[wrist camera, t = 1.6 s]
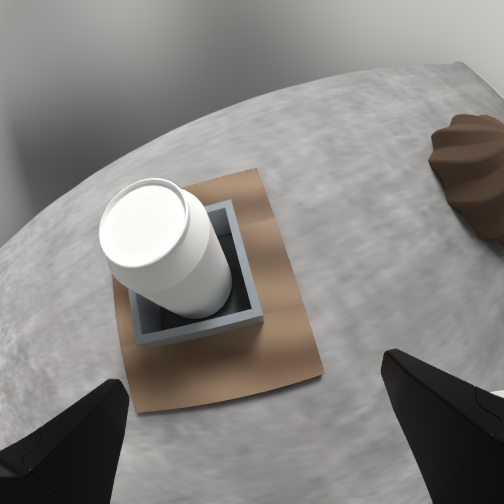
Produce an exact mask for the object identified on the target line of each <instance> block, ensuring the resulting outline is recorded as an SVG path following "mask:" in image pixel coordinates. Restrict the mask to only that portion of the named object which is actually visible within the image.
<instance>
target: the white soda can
mask: <svg viewBox="0 0 504 504" xmlns="http://www.w3.org/2000/svg"><path fill="white" fill-rule="evenodd" d="M99 241H100V245H101V248H102V250H103V252H104V254H105V255H106V260H107V263H108V266H109V268H110V270H111V272H112V274H113V275H114V277H115V278H116V279H117V280H118V281H119V282H120V283H121V284H123V285H124V286H126V287H127V288H129V289H131V290H133V291H134V292H136V293H138V294H140V295H141V296H143V297H145V298H147V299H149V300H151V301H152V302H154V303H156V304H158V305H160V306H162V307H164V308H166V309H168V310H170V311H172V312H174V313H176V314H178V315H180V316H182V317H185V318H190V319H200V318H205V317H208V316H210V315H212V314H214V313H216V312H217V311H218V310H219V309H221V308H222V307H223V305H224V304H225V303H226V301H227V300H228V298H229V295H230V292H231V288H232V275H231V271H230V268H229V265H228V263H227V260H226V258H225V255H224V253H223V251H222V248H221V246H220V243H219V241H218V239H217V236H216V234H215V231H214V229H213V227H212V224H211V222H210V219H209V217H208V214H207V212H206V210H205V208H204V206H203V205H202V203H201V202H200V201H199V200H198V199H197V198H196V197H195V196H194V195H192V194H191V193H189V192H187V191H185V190H183V189H180V188H179V187H178V186H176V185H175V184H174V183H172V182H170V181H167V180H164V179H158V178H151V179H145V180H141V181H138V182H135V183H133V184H131V185H129V186H128V187H126V188H125V189H123V190H122V191H121V192H119V193H118V194H117V195H116V196H115V197H114V198H113V199H112V201H111V202H110V203H109V205H108V206H107V208H106V210H105V212H104V214H103V216H102V219H101V222H100V227H99Z"/></svg>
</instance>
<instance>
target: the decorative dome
mask: <svg viewBox="0 0 504 504" xmlns="http://www.w3.org/2000/svg"><path fill="white" fill-rule="evenodd" d="M431 138H432V142H433V146H434V152H433V153H432V155H431V156H430V158H429V160H428V162H429V164H430V165H431V167H432V168H433V170H434V171H435V172H436V174H437V175H438V176H439V178H440V179H441V181H442V183H443V187H444V191H445V195H446V199H447V202H448V204H449V205H450V206H451V207H453V208H454V209H455V210H457V211H458V212H460V213H461V214H462V215H464V216H465V217H466V218H467V219H468V220H469V222H470V223H471V225H472V226H473V228H474V229H475V231H476V233H477V234H478V236H479V237H480V238H481V239H482V240H492V239H496V240H498V241H499V242H501V243H502V244H503V245H504V124H503V123H502V122H501V121H499V120H497V119H496V118H494V117H491V116H488V115H480V116H475V115H467V114H459V115H455V116H454V117H453V118H452V121H451V123H450V126H449V127H447V128H444V129H440V130H437V131H435V132H434V133H433V134H432V136H431Z"/></svg>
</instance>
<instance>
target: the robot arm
mask: <svg viewBox="0 0 504 504" xmlns="http://www.w3.org/2000/svg"><path fill="white" fill-rule="evenodd" d="M381 375H382V378H383V381H384V384H385V387H386V389H387V392H388V395H389V398H390V401H391V404H392V407H393V410H394V412H395V415H396V417H397V419H398V421H399V423H400V425H401V428H402V430H403V432H404V434H405V436H406V439H407V441H408V443H409V445H410V448H411V450H412V452H413V455H414V457H415V459H416V462H417V464H418V466H419V469H420V471H421V474H422V476H423V479H424V481H425V484H426V486H427V489H428V491H429V494H430V497H431V499H432V500H433V501H432V502H433V504H504V398H503V397H500V396H497V395H495V394H492V393H490V392H487V391H485V390H483V389H481V388H478V387H476V386H475V387H474V385H472V384H470V383H467V382H465V381H463V380H461V379H459V378H457V377H455V376H453V375H450V374H448V373H446V372H444V371H442V370H440V369H438V368H436V367H434V366H432V365H429V364H427V363H425V362H423V361H421V360H419V359H417V358H415V357H413V356H411V355H409V354H407V353H405V352H403V351H401V350H399V349H396V348H394V349H391V350H387V351H385V353H384V355H383V361H382V366H381ZM128 407H129V395H128V393H127V391H126V389H125V388H124V386H123V384H122V382H121V381H120V380H119V379H108V380H107V381H105V382H104V383H102V384H101V385H100V386H98V387H97V388H95V389H94V390H93V391H91V392H90V393H88V394H87V395H86V396H84V397H83V398H81V399H80V400H79V401H77V402H76V403H74V404H73V405H72V406H70V407H69V408H67V409H66V410H64V411H63V412H62V413H60V414H59V415H57V416H56V417H54V418H53V419H52V420H50V421H49V422H47V423H46V424H44V425H43V427H42V426H41V427H40V428H38V429H37V430H36V431H34V432H33V433H31V434H29V435H28V436H26V437H25V438H23V439H21V440H19V441H18V442H16V443H14V444H12V445H10V446H8V447H7V448H5V449H3V450H1V451H0V504H110V500H111V494H112V489H113V484H114V479H115V474H116V470H117V465H118V461H119V456H120V452H121V448H122V444H123V439H124V435H125V428H126V421H127V414H128Z"/></svg>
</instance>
